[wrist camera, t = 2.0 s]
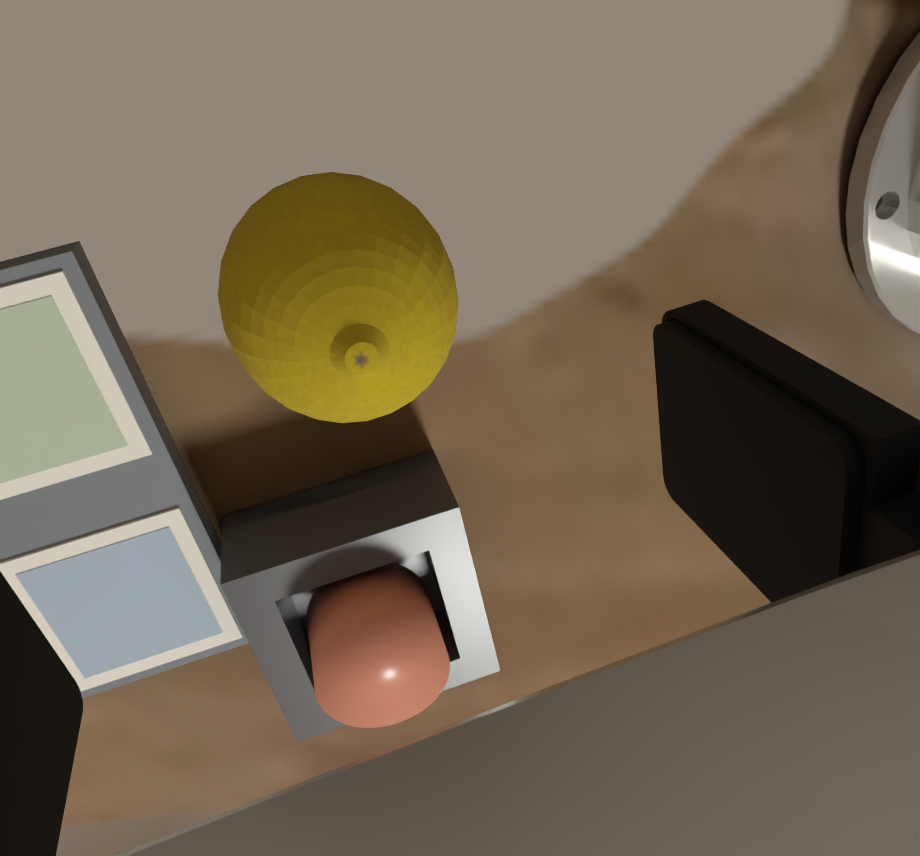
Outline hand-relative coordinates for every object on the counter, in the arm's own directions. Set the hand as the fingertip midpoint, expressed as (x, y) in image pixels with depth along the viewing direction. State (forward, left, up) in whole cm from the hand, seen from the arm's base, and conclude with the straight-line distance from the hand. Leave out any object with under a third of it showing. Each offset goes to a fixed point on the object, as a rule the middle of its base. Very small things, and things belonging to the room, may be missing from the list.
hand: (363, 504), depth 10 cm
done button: (+1, +11, -10) cm, 15 cm away
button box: (+1, +11, -13) cm, 17 cm away
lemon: (-1, 0, -13) cm, 13 cm away
